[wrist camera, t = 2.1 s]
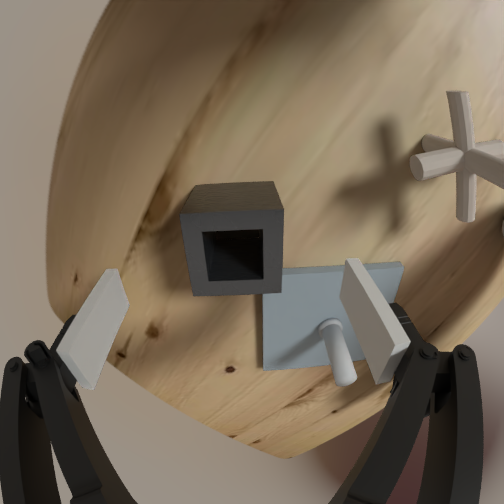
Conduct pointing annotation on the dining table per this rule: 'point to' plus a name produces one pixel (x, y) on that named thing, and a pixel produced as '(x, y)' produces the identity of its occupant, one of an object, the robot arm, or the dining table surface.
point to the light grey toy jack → (460, 157)
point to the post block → (317, 319)
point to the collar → (238, 249)
